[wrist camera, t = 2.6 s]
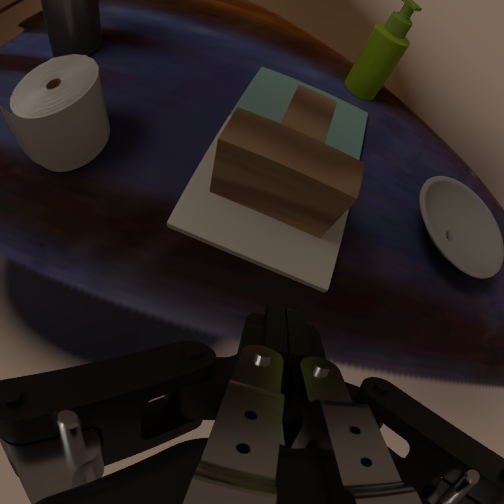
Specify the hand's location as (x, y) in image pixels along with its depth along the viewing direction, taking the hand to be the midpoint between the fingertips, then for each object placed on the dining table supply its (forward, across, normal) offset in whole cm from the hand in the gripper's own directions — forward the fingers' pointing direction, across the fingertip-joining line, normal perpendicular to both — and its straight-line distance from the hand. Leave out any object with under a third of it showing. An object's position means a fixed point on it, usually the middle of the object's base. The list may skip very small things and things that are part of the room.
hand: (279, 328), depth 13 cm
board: (+29, 0, +8) cm, 30 cm away
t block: (+26, -1, +6) cm, 27 cm away
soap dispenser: (+43, +9, +25) cm, 51 cm away
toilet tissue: (+23, -28, +5) cm, 37 cm away
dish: (+30, +25, +4) cm, 39 cm away
